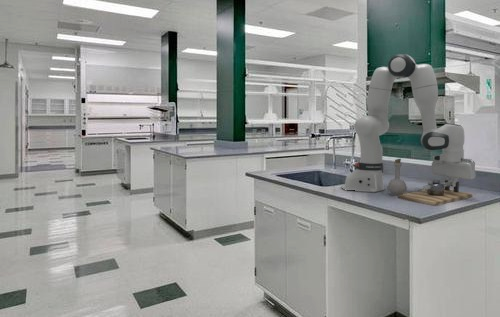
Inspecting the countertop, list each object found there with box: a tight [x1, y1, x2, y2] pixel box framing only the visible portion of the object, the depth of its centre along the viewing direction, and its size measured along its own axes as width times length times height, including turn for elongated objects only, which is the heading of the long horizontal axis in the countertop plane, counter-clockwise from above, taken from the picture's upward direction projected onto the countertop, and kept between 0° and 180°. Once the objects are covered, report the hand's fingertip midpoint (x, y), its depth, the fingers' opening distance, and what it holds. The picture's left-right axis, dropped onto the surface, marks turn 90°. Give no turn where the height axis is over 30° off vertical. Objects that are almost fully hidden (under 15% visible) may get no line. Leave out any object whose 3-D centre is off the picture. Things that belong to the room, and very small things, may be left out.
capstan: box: [422, 179, 449, 195], centre depth 169 cm, size 20×7×6 cm, turn 117°
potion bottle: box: [387, 158, 408, 197], centre depth 175 cm, size 9×9×18 cm
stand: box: [397, 179, 473, 207], centre depth 168 cm, size 31×18×6 cm, turn 122°
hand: (452, 186), depth 170 cm, fingers closed
